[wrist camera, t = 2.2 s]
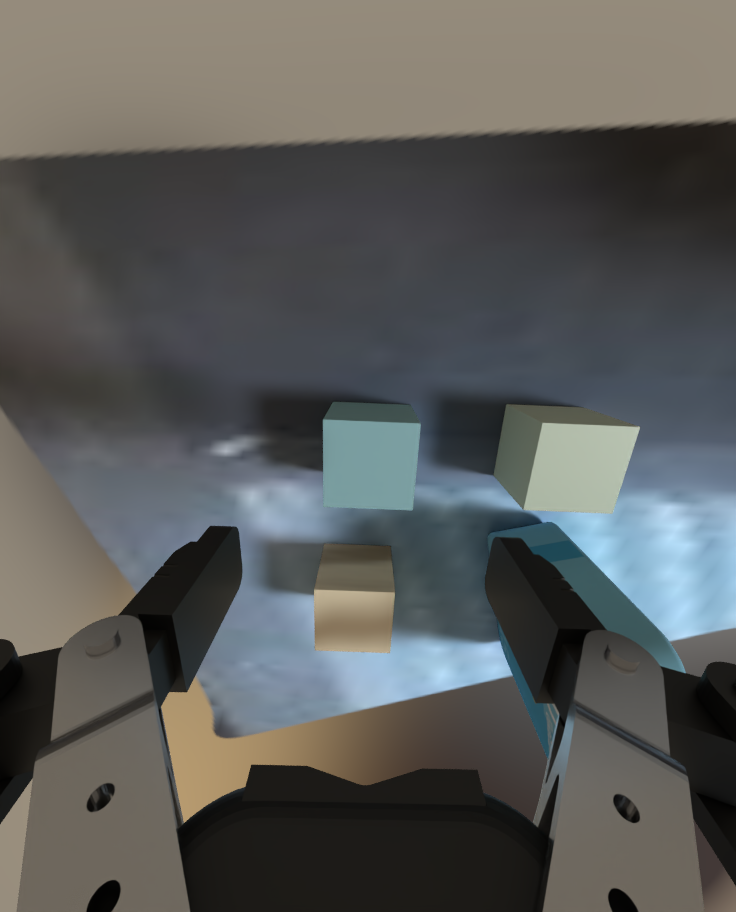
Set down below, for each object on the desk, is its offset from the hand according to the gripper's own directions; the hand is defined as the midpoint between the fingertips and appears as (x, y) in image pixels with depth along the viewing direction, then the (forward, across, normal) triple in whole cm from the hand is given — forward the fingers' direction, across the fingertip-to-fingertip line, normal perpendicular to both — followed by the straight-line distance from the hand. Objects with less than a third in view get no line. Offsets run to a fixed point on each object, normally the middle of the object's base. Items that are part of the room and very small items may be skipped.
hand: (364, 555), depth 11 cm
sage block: (+13, -12, 0) cm, 17 cm away
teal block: (+13, 0, 0) cm, 13 cm away
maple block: (+13, 0, +11) cm, 17 cm away
